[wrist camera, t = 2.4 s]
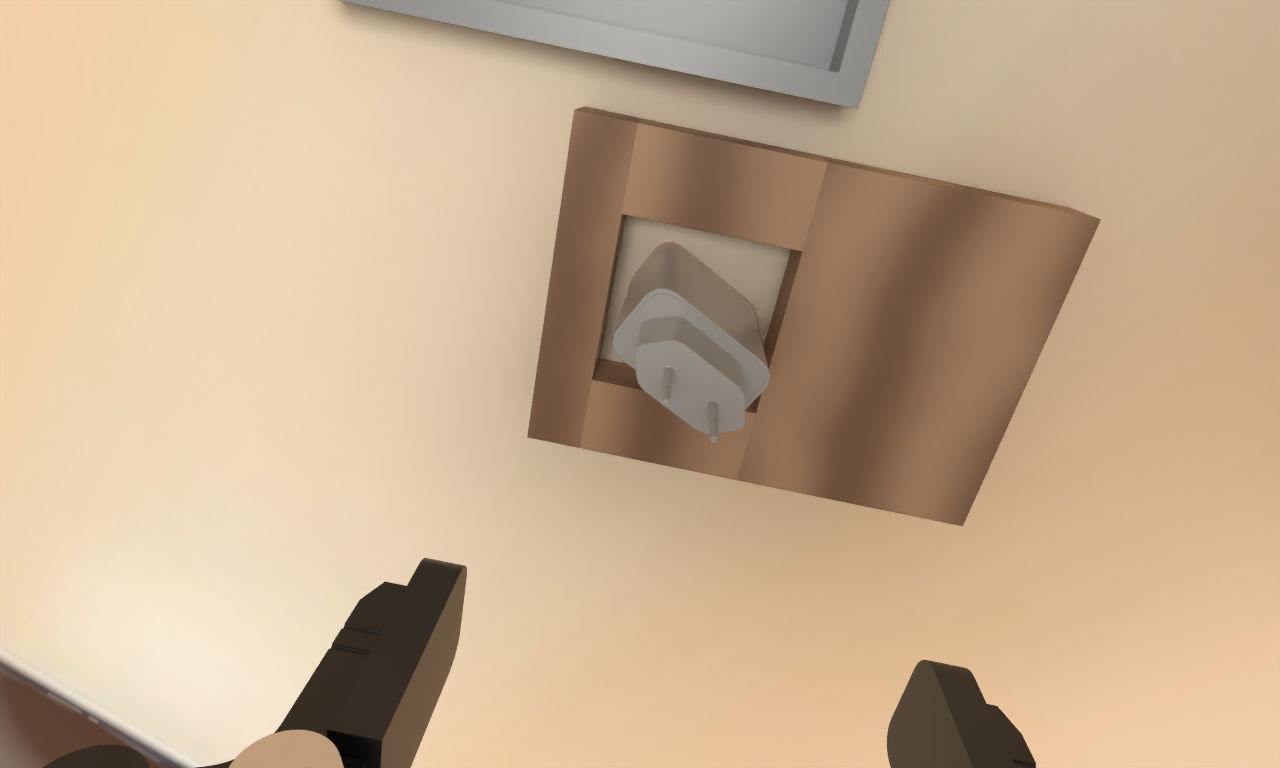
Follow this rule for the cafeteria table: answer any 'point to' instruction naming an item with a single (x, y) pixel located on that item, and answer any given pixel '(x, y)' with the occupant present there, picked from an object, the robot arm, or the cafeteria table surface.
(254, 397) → the cafeteria table surface
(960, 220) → the dock board
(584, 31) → the tray
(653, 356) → the power adapter
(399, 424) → the cafeteria table surface
